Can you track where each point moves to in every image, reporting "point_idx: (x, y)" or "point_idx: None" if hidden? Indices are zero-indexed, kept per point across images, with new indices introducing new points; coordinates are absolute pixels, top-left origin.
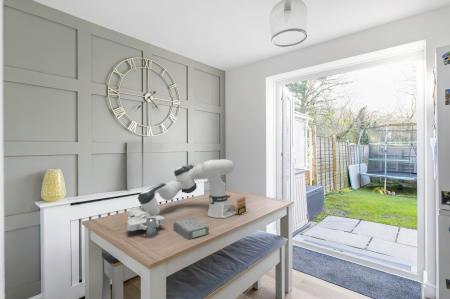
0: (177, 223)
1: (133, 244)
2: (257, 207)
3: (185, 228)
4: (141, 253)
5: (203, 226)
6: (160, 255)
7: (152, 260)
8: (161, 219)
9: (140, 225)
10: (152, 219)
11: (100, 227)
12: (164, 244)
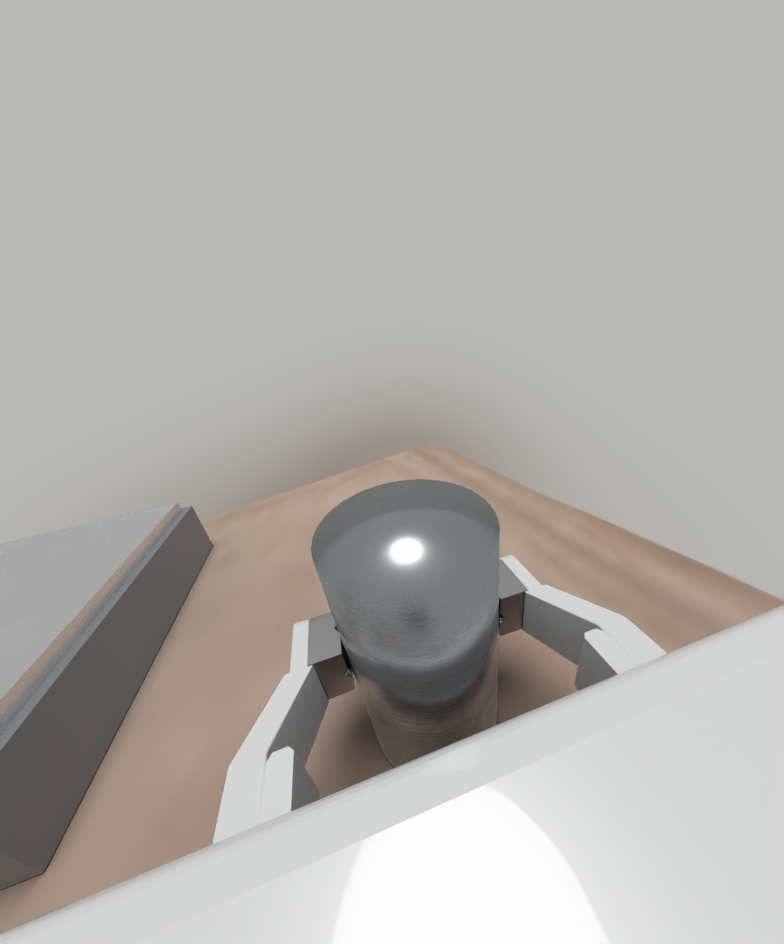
0: (31, 668)
1: (562, 545)
2: None
3: (156, 528)
4: (473, 474)
5: (36, 536)
6: (397, 464)
7: (426, 449)
8: (31, 924)
9: (614, 617)
10: (382, 510)
11: None
12: None
